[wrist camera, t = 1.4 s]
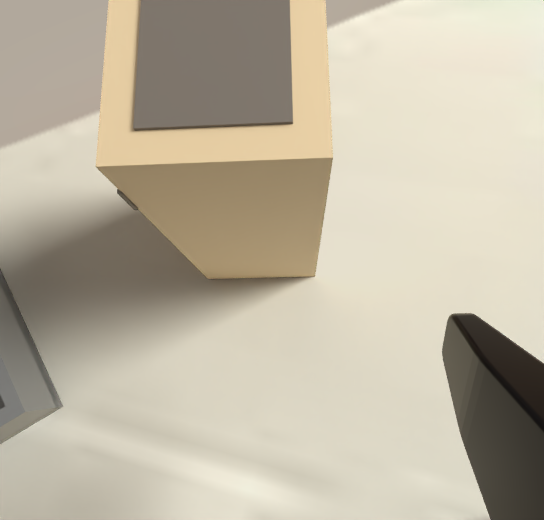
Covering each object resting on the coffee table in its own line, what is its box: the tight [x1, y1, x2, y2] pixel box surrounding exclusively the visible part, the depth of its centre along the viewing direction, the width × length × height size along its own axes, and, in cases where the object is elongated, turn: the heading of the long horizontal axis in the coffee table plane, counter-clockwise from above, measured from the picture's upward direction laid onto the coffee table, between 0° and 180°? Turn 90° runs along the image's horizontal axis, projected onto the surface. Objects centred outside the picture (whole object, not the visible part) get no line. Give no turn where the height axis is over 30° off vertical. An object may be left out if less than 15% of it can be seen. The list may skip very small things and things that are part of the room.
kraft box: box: [96, 0, 333, 279], centre depth 16 cm, size 5×5×13 cm
